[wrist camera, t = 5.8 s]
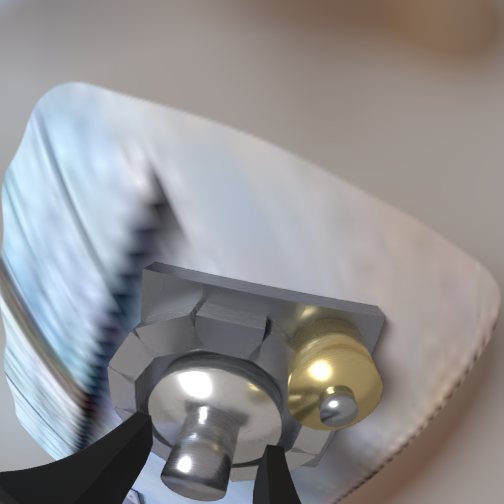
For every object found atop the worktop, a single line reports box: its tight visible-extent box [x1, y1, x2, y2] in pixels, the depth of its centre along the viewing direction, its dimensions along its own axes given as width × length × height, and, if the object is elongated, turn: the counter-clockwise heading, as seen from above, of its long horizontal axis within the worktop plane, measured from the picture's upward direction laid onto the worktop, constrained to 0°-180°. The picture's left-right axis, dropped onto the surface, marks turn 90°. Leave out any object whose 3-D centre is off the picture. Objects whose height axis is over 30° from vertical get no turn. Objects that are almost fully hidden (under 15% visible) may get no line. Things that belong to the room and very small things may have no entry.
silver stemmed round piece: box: [148, 354, 282, 501], centre depth 10 cm, size 6×6×5 cm
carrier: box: [108, 262, 386, 482], centre depth 11 cm, size 11×11×5 cm
